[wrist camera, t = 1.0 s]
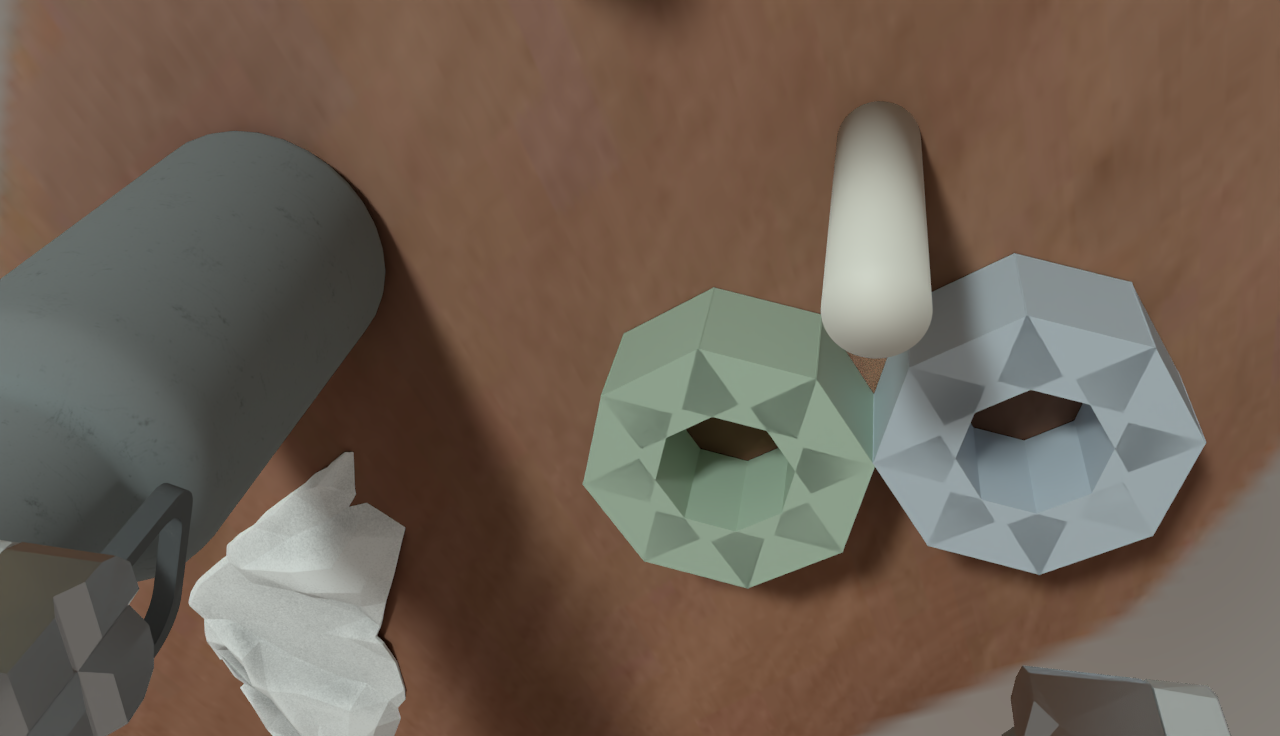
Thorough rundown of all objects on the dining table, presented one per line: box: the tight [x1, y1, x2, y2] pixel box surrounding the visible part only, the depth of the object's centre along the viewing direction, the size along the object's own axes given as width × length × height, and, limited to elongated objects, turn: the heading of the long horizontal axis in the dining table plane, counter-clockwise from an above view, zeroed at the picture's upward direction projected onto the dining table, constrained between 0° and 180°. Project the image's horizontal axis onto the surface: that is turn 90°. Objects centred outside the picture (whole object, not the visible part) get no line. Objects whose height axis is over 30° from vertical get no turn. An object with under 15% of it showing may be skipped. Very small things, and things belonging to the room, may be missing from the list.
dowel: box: [821, 101, 933, 358], centre depth 35 cm, size 3×3×12 cm
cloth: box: [189, 452, 405, 736], centre depth 58 cm, size 26×14×2 cm, turn 158°
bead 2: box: [873, 253, 1206, 575], centre depth 42 cm, size 10×10×4 cm
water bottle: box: [0, 131, 385, 657], centre depth 35 cm, size 10×10×28 cm
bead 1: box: [583, 287, 875, 588], centre depth 45 cm, size 10×10×4 cm
